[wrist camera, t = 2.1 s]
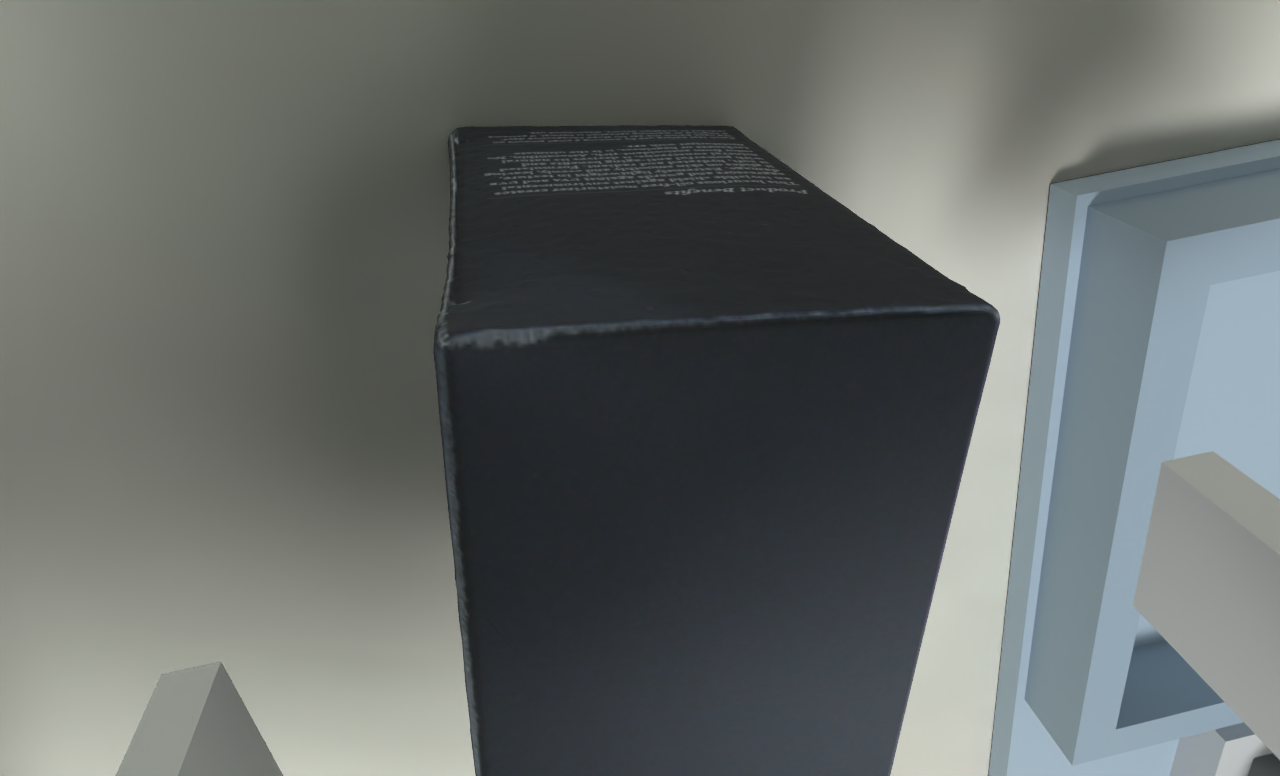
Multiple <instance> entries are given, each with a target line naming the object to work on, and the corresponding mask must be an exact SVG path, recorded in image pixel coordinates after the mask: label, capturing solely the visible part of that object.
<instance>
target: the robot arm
mask: <svg viewBox="0 0 1280 776" xmlns="http://www.w3.org/2000/svg"><path fill="white" fill-rule="evenodd" d="M1133 606H1134V607H1135V608H1136V609H1137V610H1138V611H1139V612H1140V614H1141V615H1142V616H1143V617H1144V618H1145V619H1146V620H1147V621H1148V622H1149V623H1150V624H1151V625H1152V626H1153V627H1154V628H1155V629H1156V630H1157V631H1158V632H1159V634H1160V635H1161V636H1162V637H1163V638H1164V639H1165V640H1166V641H1167V642H1168V643H1169V644H1170V645H1171V646H1172V647H1173V648H1174V649H1175V650H1176V651H1177V652H1178V654H1179V655H1180V656H1181V657H1182V658H1183V659H1184V660H1185V661H1186V662H1187V663H1188V664H1189V665H1190V666H1191V667H1192V668H1193V669H1194V670H1195V671H1196V672H1197V674H1198V675H1199V676H1200V677H1201V678H1202V679H1203V680H1204V681H1205V682H1206V683H1207V684H1208V685H1209V686H1210V687H1211V688H1212V689H1213V690H1214V691H1215V692H1216V694H1217V695H1218V696H1219V697H1220V698H1221V699H1222V700H1223V701H1224V702H1225V703H1226V704H1227V705H1228V706H1229V707H1230V708H1231V709H1232V710H1233V711H1234V712H1235V714H1236V715H1237V716H1238V717H1239V718H1240V719H1241V720H1242V721H1243V722H1244V723H1245V724H1246V725H1247V726H1248V727H1249V728H1250V729H1251V730H1252V731H1253V732H1254V734H1255V735H1256V736H1257V737H1258V738H1259V739H1260V740H1261V741H1262V742H1263V743H1264V744H1265V745H1266V746H1267V747H1268V748H1269V749H1270V750H1271V751H1272V752H1273V754H1274V755H1275V756H1276V757H1277V758H1278V759H1279V760H1280V499H1279V498H1277V497H1276V496H1274V495H1273V494H1272V493H1270V492H1269V491H1268V490H1266V489H1265V488H1263V487H1262V486H1261V485H1259V484H1258V483H1256V482H1255V481H1254V480H1252V479H1251V478H1249V477H1248V476H1247V475H1245V474H1244V473H1243V472H1241V471H1240V470H1238V469H1237V468H1236V467H1234V466H1233V465H1231V464H1230V463H1229V462H1227V461H1226V460H1224V459H1223V458H1222V457H1220V456H1219V455H1218V454H1216V453H1215V452H1213V451H1211V452H1206V453H1201V454H1197V455H1192V456H1187V457H1182V458H1178V459H1173V460H1168V461H1164V462H1162V464H1161V469H1160V474H1159V479H1158V484H1157V489H1156V494H1155V498H1154V503H1153V508H1152V513H1151V518H1150V523H1149V528H1148V533H1147V538H1146V543H1145V548H1144V553H1143V558H1142V562H1141V567H1140V572H1139V577H1138V582H1137V587H1136V592H1135V597H1134V602H1133ZM116 776H283V774H282V772H281V771H280V769H279V767H278V765H277V763H276V762H275V760H274V758H273V756H272V754H271V752H270V751H269V749H268V747H267V745H266V743H265V741H264V740H263V738H262V736H261V734H260V732H259V730H258V729H257V727H256V725H255V723H254V721H253V719H252V718H251V716H250V714H249V712H248V710H247V708H246V707H245V705H244V703H243V701H242V699H241V697H240V696H239V694H238V692H237V690H236V688H235V686H234V685H233V683H232V681H231V679H230V677H229V676H228V674H227V672H226V670H225V668H224V666H223V665H222V663H221V662H217V663H212V664H208V665H203V666H198V667H193V668H189V669H184V670H179V671H175V672H170V673H165V674H161V677H160V679H159V681H158V683H157V686H156V688H155V690H154V692H153V694H152V697H151V699H150V701H149V703H148V705H147V708H146V710H145V712H144V714H143V717H142V719H141V721H140V723H139V725H138V728H137V730H136V732H135V734H134V736H133V739H132V741H131V743H130V745H129V747H128V750H127V752H126V754H125V756H124V759H123V761H122V763H121V765H120V767H119V770H118V772H117V774H116Z"/></svg>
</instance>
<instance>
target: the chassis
mask: <svg viewBox="0 0 1280 776" xmlns="http://www.w3.org/2000/svg"><path fill="white" fill-rule="evenodd" d="M1211 451H1213V452H1215V453H1216V454H1218V455H1219V456H1220V457H1222V458H1223V459H1224V460H1226V461H1227V462H1229V463H1230V464H1231V465H1233V466H1234V467H1236V468H1237V469H1238V470H1240V471H1241V472H1243V473H1244V474H1245V475H1247V476H1248V477H1249V478H1251V479H1252V480H1254V481H1255V482H1256V483H1258V484H1259V485H1261V486H1262V487H1263V488H1265V489H1266V490H1268V491H1269V492H1270V493H1272V494H1273V495H1274V496H1276V497H1277V498H1279V499H1280V139H1279V140H1274V141H1269V142H1264V143H1259V144H1254V145H1248V146H1243V147H1238V148H1233V149H1228V150H1223V151H1218V152H1213V153H1207V154H1202V155H1197V156H1192V157H1187V158H1182V159H1177V160H1172V161H1167V162H1161V163H1156V164H1151V165H1146V166H1141V167H1136V168H1131V169H1126V170H1120V171H1115V172H1110V173H1105V174H1100V175H1095V176H1090V177H1085V178H1079V179H1074V180H1069V181H1064V182H1059V183H1054V184H1050V193H1049V203H1048V213H1047V222H1046V232H1045V241H1044V251H1043V260H1042V270H1041V279H1040V289H1039V299H1038V308H1037V318H1036V327H1035V337H1034V346H1033V356H1032V365H1031V375H1030V385H1029V394H1028V404H1027V413H1026V423H1025V432H1024V442H1023V451H1022V461H1021V471H1020V480H1019V490H1018V499H1017V509H1016V518H1015V528H1014V537H1013V547H1012V557H1011V566H1010V576H1009V585H1008V595H1007V604H1006V614H1005V623H1004V633H1003V643H1002V652H1001V662H1000V671H999V681H998V690H997V700H996V709H995V719H994V729H993V738H992V748H991V757H990V767H989V776H1280V760H1279V759H1278V758H1277V757H1276V756H1275V755H1274V754H1273V752H1272V751H1271V750H1270V749H1269V748H1268V747H1267V746H1266V745H1265V744H1264V743H1263V742H1262V741H1261V740H1260V739H1259V738H1258V737H1257V736H1256V735H1255V734H1254V732H1253V731H1252V730H1251V729H1250V728H1249V727H1248V726H1247V725H1246V724H1245V723H1244V722H1243V721H1242V720H1241V719H1240V718H1239V717H1238V716H1237V715H1236V714H1235V712H1234V711H1233V710H1232V709H1231V708H1230V707H1229V706H1228V705H1227V704H1226V703H1225V702H1224V701H1223V700H1222V699H1221V698H1220V697H1219V696H1218V695H1217V694H1216V692H1215V691H1214V690H1213V689H1212V688H1211V687H1210V686H1209V685H1208V684H1207V683H1206V682H1205V681H1204V680H1203V679H1202V678H1201V677H1200V676H1199V675H1198V674H1197V672H1196V671H1195V670H1194V669H1193V668H1192V667H1191V666H1190V665H1189V664H1188V663H1187V662H1186V661H1185V660H1184V659H1183V658H1182V657H1181V656H1180V655H1179V654H1178V652H1177V651H1176V650H1175V649H1174V648H1173V647H1172V646H1171V645H1170V644H1169V643H1168V642H1167V641H1166V640H1165V639H1164V638H1163V637H1162V636H1161V635H1160V634H1159V632H1158V631H1157V630H1156V629H1155V628H1154V627H1153V626H1152V625H1151V624H1150V623H1149V622H1148V621H1147V620H1146V619H1145V618H1144V617H1143V616H1142V615H1141V614H1140V612H1139V611H1138V610H1137V609H1136V608H1135V607H1134V606H1133V602H1134V597H1135V592H1136V587H1137V582H1138V577H1139V572H1140V567H1141V562H1142V558H1143V553H1144V548H1145V543H1146V538H1147V533H1148V528H1149V523H1150V518H1151V513H1152V508H1153V503H1154V498H1155V494H1156V489H1157V484H1158V479H1159V474H1160V469H1161V464H1162V462H1164V461H1168V460H1173V459H1178V458H1182V457H1187V456H1192V455H1197V454H1201V453H1206V452H1211Z"/></svg>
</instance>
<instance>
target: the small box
mask: <svg viewBox="0 0 1280 776" xmlns="http://www.w3.org/2000/svg"><path fill="white" fill-rule="evenodd" d="M448 147H449V158H450V182H451V183H450V199H451V201H450V218H449V223H450V224H449V237H450V241H449V253H448V256H447V257H448V265H447V277H446V283H445V286H444V293H443V296H442V304H441V309H440V314H439V316H438V317H437V325H436V328H435V335H434V361H435V369H436V379H437V391H438V403H439V415H440V425H441V435H442V445H443V456H444V467H445V479H446V490H447V500H448V510H449V519H450V529H451V537H452V546H453V554H454V564H455V580H456V586H457V596H458V611H459V622H460V629H461V636H462V645H463V658H464V671H465V683H466V692H467V700H468V708H469V717H470V732H471V740H472V749H473V757H474V766H475V773H476V776H890V774H891V769H892V765H893V761H894V756H895V752H896V748H897V744H898V739H899V735H900V731H901V727H902V722H903V718H904V714H905V710H906V706H907V702H908V697H909V693H910V689H911V685H912V681H913V676H914V672H915V668H916V664H917V660H918V655H919V651H920V647H921V643H922V639H923V635H924V631H925V626H926V622H927V618H928V614H929V610H930V606H931V602H932V597H933V593H934V589H935V585H936V581H937V577H938V573H939V568H940V564H941V560H942V556H943V552H944V548H945V544H946V539H947V535H948V531H949V527H950V523H951V519H952V514H953V510H954V506H955V502H956V498H957V494H958V490H959V486H960V482H961V477H962V473H963V469H964V465H965V461H966V457H967V453H968V449H969V445H970V441H971V436H972V432H973V428H974V424H975V420H976V416H977V412H978V408H979V404H980V400H981V396H982V392H983V389H984V385H985V381H986V377H987V373H988V369H989V365H990V361H991V357H992V353H993V348H994V344H995V340H996V335H997V332H998V328H999V324H1000V316H999V313H998V311H997V310H996V309H995V308H994V307H993V306H992V305H990V304H989V303H987V302H986V301H984V300H983V299H981V298H979V297H978V296H976V295H974V294H972V293H970V292H969V291H968V290H967V289H966V288H965V287H964V286H962V285H960V284H958V283H956V282H954V281H952V280H950V279H948V278H947V277H946V276H944V275H943V274H941V273H940V272H938V271H937V270H935V269H934V268H933V267H931V266H930V265H928V264H927V263H925V262H924V261H923V260H921V259H920V258H918V257H917V256H916V255H914V254H913V253H912V252H910V251H909V250H907V249H906V248H904V247H903V246H901V245H899V244H898V243H896V242H895V241H893V240H892V239H890V238H889V237H888V236H886V235H885V234H883V233H882V232H881V231H879V230H878V229H877V228H876V227H875V226H873V225H871V224H869V223H868V222H866V221H865V220H863V219H862V218H860V217H859V216H857V215H856V214H855V213H853V212H852V211H851V210H849V209H848V208H847V207H845V206H844V205H842V204H841V203H839V202H838V201H836V200H835V199H833V198H832V197H830V196H829V195H827V194H826V193H824V192H823V191H822V190H820V189H819V188H818V187H816V186H815V185H814V184H812V183H811V182H809V181H808V180H806V179H805V178H804V177H802V176H801V175H800V174H798V173H797V172H795V171H794V170H792V169H791V168H789V167H788V166H787V165H786V164H784V163H783V162H781V161H779V160H778V159H777V158H775V157H774V156H773V155H771V154H770V153H768V152H767V151H765V150H764V149H763V148H761V147H760V146H758V145H757V144H755V143H754V142H752V141H751V140H750V139H748V138H747V137H746V136H745V135H744V134H742V133H741V132H740V131H738V130H737V129H736V128H734V127H728V126H666V125H661V126H561V127H531V126H516V127H463V128H458V129H456V130H455V131H454V132H453V133H452V134H451V135H450V136H449V140H448Z"/></svg>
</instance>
